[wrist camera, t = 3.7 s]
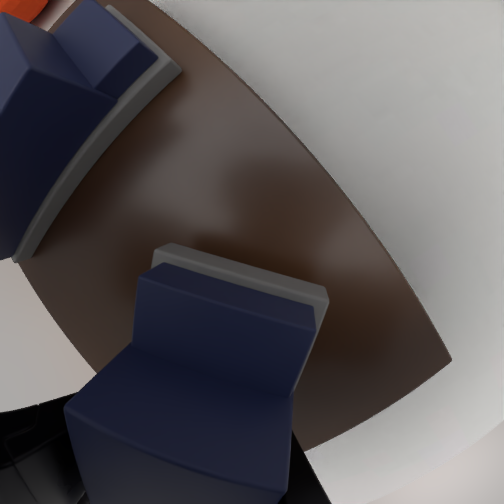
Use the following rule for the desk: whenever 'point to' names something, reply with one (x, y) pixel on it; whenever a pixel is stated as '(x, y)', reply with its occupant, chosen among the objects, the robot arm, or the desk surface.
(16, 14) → the clementine
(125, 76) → the trainer
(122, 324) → the shoe display tray
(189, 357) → the trainer
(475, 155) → the desk surface
